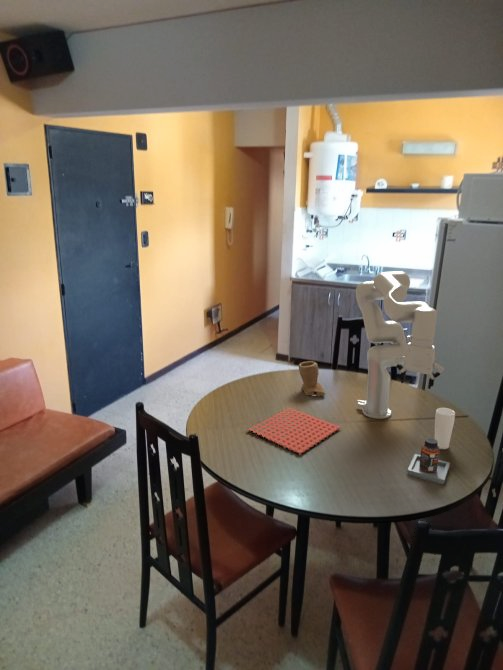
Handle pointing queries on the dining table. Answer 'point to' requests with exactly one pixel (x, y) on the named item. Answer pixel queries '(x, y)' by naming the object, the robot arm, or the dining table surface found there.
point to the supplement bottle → (429, 455)
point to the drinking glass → (444, 426)
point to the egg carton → (296, 430)
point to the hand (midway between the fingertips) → (416, 384)
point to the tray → (433, 477)
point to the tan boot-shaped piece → (310, 378)
